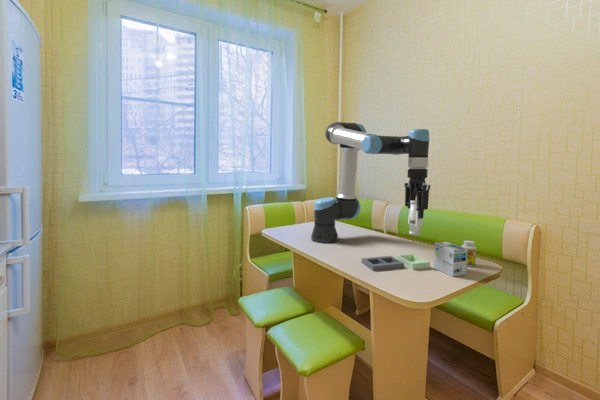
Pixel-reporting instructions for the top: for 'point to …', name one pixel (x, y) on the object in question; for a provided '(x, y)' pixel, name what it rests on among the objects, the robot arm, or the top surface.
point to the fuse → (413, 219)
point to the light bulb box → (450, 258)
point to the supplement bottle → (470, 252)
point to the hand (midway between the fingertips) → (415, 224)
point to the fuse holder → (382, 263)
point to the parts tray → (413, 261)
